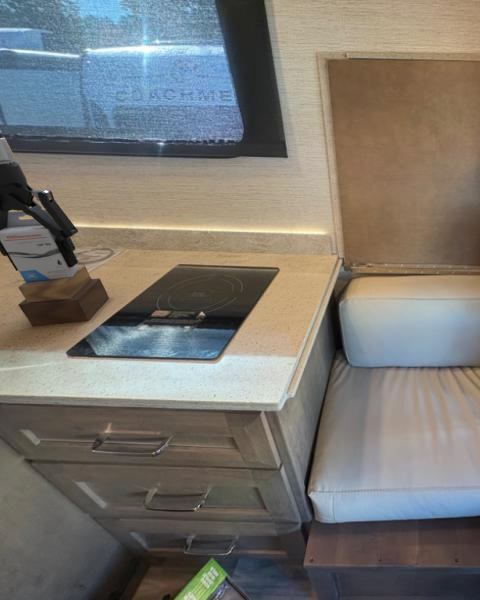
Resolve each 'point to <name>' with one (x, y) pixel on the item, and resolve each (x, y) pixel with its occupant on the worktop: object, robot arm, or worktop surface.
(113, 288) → the worktop surface
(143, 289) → the worktop surface
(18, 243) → the ink box
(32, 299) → the box stack
